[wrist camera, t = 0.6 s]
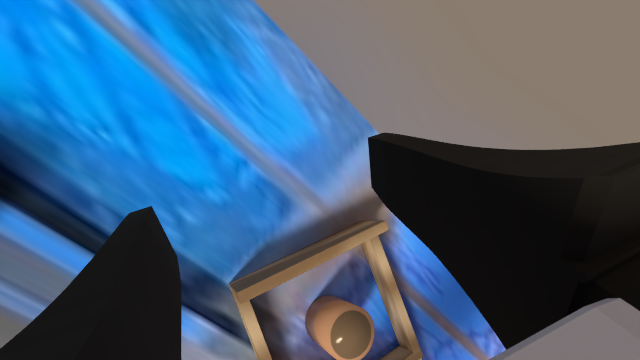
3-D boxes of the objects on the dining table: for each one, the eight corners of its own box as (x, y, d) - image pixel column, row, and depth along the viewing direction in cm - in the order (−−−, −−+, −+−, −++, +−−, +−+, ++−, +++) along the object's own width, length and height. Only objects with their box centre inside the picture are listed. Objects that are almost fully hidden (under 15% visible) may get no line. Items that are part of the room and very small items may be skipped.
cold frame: (409, 348, 39) (439, 365, 35) (286, 436, 33) (304, 469, 28) (361, 221, 39) (385, 220, 34) (228, 283, 33) (236, 293, 28)
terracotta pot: (354, 329, 37) (382, 345, 32) (315, 353, 35) (338, 375, 30) (338, 286, 37) (363, 296, 32) (298, 308, 35) (318, 322, 30)
